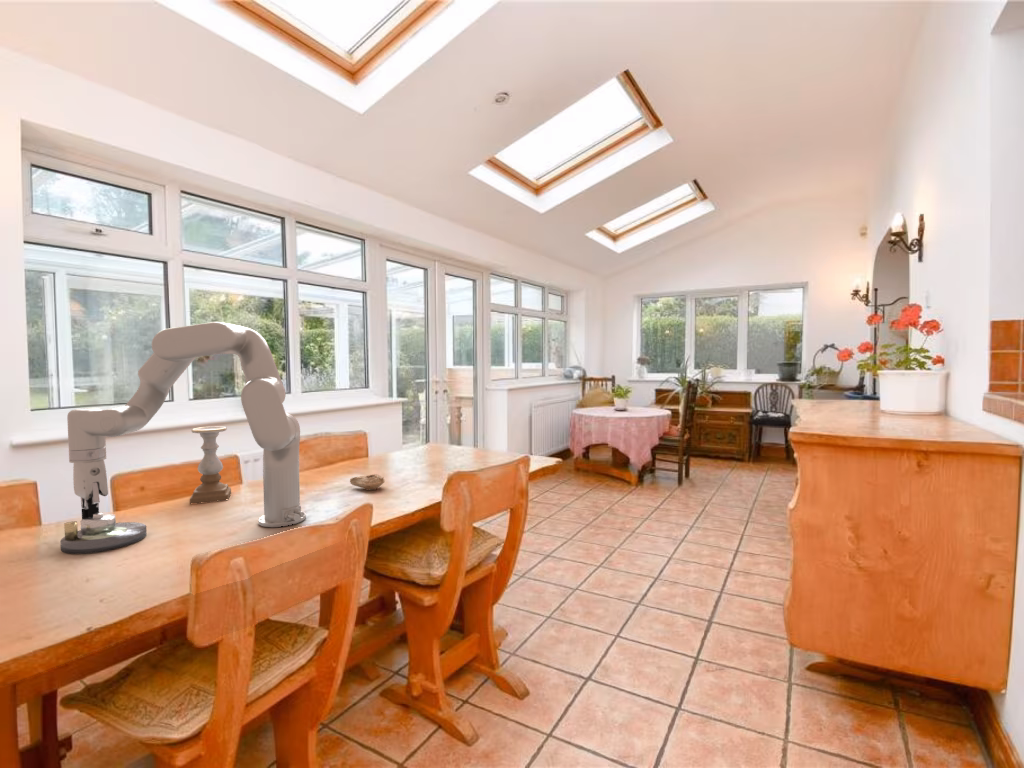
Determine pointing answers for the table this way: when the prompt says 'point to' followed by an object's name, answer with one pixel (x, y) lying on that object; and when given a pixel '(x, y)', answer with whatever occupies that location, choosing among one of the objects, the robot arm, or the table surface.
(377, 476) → the pottery oil lamp
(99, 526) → the cover
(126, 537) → the turntable
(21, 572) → the table surface
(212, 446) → the candle holder
